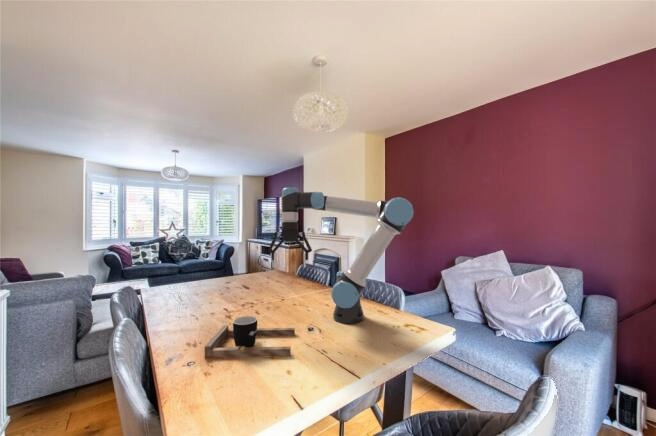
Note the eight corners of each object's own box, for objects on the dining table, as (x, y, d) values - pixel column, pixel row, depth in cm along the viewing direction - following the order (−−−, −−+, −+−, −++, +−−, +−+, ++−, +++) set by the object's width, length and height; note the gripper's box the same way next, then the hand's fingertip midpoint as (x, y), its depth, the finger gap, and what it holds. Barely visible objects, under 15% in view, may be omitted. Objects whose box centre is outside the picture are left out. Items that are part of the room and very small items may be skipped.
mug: (250, 353, 98) (250, 325, 98) (228, 350, 100) (228, 323, 100) (264, 339, 109) (264, 314, 109) (244, 337, 111) (245, 312, 111)
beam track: (294, 333, 115) (294, 324, 115) (289, 356, 95) (289, 344, 96) (223, 334, 114) (223, 325, 114) (204, 357, 94) (204, 346, 94)
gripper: (316, 221, 129) (317, 265, 128) (264, 221, 128) (264, 266, 128) (316, 221, 121) (316, 268, 121) (261, 221, 120) (261, 268, 120)
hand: (290, 267), depth 124 cm, fingers open, 13 cm apart
